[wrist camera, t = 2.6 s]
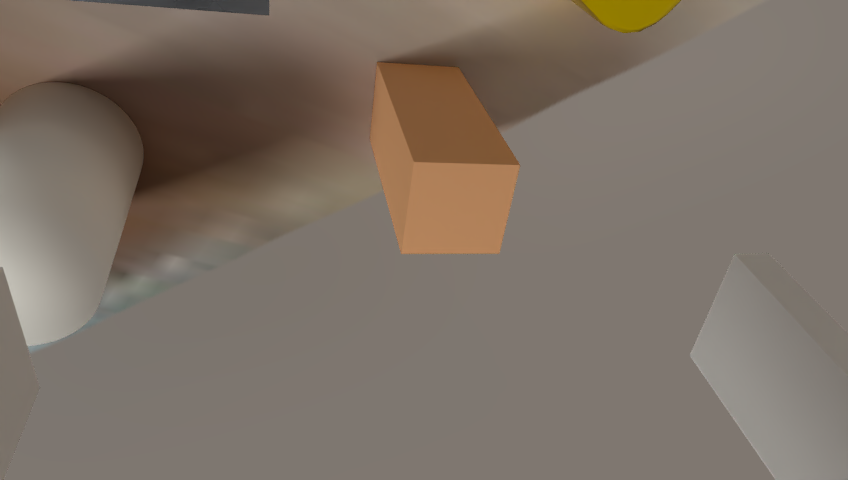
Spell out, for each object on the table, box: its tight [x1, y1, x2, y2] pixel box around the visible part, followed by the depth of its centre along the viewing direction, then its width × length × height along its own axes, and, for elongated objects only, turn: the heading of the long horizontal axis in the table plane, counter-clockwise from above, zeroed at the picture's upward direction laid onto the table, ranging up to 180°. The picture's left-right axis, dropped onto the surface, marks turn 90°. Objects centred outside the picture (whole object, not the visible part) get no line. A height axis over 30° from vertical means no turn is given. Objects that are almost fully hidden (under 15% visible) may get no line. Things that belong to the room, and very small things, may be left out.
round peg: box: [0, 82, 144, 346], centre depth 27 cm, size 6×6×10 cm
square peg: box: [370, 62, 520, 254], centre depth 29 cm, size 4×4×10 cm
